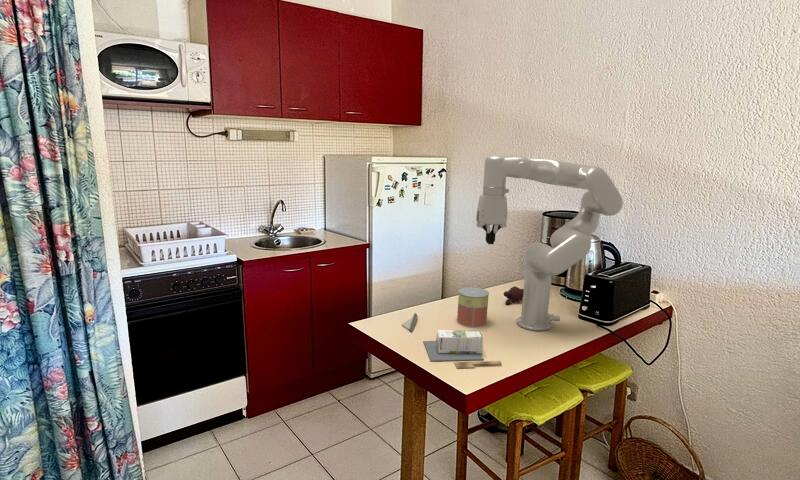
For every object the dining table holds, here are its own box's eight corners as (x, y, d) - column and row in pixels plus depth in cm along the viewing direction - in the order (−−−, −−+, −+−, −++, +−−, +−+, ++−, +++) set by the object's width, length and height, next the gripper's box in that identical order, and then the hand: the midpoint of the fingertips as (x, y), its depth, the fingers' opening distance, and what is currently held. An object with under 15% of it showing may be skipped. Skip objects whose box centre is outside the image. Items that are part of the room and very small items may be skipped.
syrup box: (479, 346, 152) (435, 346, 151) (480, 330, 150) (436, 329, 150) (482, 354, 146) (437, 353, 146) (483, 337, 145) (438, 336, 144)
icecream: (517, 282, 204) (496, 291, 195) (531, 282, 198) (510, 291, 189) (520, 296, 204) (499, 306, 195) (534, 297, 198) (513, 307, 189)
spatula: (498, 362, 142) (498, 359, 142) (502, 367, 139) (502, 364, 139) (454, 363, 141) (454, 360, 141) (456, 369, 137) (457, 366, 137)
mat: (472, 341, 157) (472, 339, 157) (483, 360, 143) (483, 359, 143) (423, 342, 155) (423, 341, 155) (430, 361, 141) (430, 360, 141)
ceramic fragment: (412, 333, 162) (412, 323, 161) (398, 332, 163) (398, 322, 162) (418, 319, 175) (419, 310, 175) (405, 318, 176) (405, 309, 176)
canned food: (475, 314, 181) (477, 285, 178) (492, 324, 171) (495, 294, 169) (451, 318, 176) (452, 289, 173) (467, 329, 166) (470, 298, 164)
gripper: (510, 191, 162) (506, 241, 166) (469, 190, 160) (466, 241, 164) (518, 193, 154) (514, 246, 158) (475, 193, 153) (472, 246, 157)
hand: (490, 243), depth 161 cm, fingers closed
